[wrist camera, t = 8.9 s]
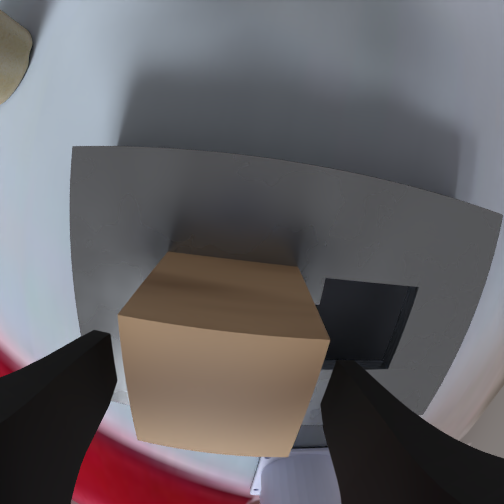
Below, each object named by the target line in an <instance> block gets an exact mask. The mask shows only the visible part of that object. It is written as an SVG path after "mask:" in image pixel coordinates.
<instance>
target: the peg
mask: <svg viewBox="0 0 504 504" xmlns="http://www.w3.org/2000/svg"><path fill="white" fill-rule="evenodd" d="M118 325H119V335H120V344H121V352H122V359H123V366H124V373H125V379H126V385H127V391H128V397H129V402H130V407H131V412H132V417H133V422H134V426H135V431H136V435H137V439H138V440H139V441H144V442H148V443H153V444H158V445H163V446H168V447H174V448H179V449H185V450H192V451H199V452H207V453H216V454H225V455H237V456H254V457H288V456H289V454H290V451H291V449H292V447H293V444H294V442H295V439H296V437H297V434H298V432H299V429H300V427H301V424H302V421H303V419H304V416H305V414H306V411H307V408H308V406H309V403H310V400H311V397H312V394H313V392H314V389H315V386H316V383H317V380H318V377H319V374H320V371H321V368H322V365H323V362H324V359H325V356H326V352H327V349H328V346H329V343H330V338H329V336H328V333H327V331H326V329H325V326H324V324H323V322H322V319H321V317H320V315H319V313H318V310H317V308H316V306H315V304H314V301H313V299H312V297H311V295H310V292H309V290H308V288H307V286H306V283H305V281H304V279H303V277H302V275H301V272H300V270H299V268H298V267H294V266H286V265H277V264H268V263H260V262H251V261H242V260H234V259H226V258H217V257H209V256H201V255H192V254H184V253H176V252H167V253H166V254H165V256H164V257H163V258H162V259H161V260H160V262H159V263H158V264H157V265H156V267H155V268H154V269H153V270H152V271H151V273H150V274H149V275H148V276H147V278H146V279H145V280H144V281H143V283H142V284H141V285H140V286H139V288H138V289H137V290H136V292H135V293H134V294H133V295H132V297H131V298H130V299H129V301H128V302H127V303H126V304H125V306H124V307H123V308H122V310H121V311H120V312H119V314H118Z"/></svg>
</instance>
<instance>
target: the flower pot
mask: <svg viewBox="0 0 504 504" xmlns="http://www.w3.org/2000/svg"><path fill="white" fill-rule="evenodd" d="M31 47H32V38H31V35H30V33H29V31H28V30H27V29H25V28H24V27H22V26H21V25H20V24H18V23H17V22H16V21H14V20H13V19H12V18H10V17H9V16H8V15H7V14H5V13H4V12H3V11H1V10H0V104H2V103H4V102H5V101H6V100H7V99H8V98H9V97H10V96H11V95H12V93H13V92H14V91H15V89H16V88H17V86H18V85H19V83H20V81H21V80H22V78H23V76H24V74H25V72H26V70H27V67H28V64H29V53H30V50H31Z"/></svg>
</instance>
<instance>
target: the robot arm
mask: <svg viewBox="0 0 504 504" xmlns="http://www.w3.org/2000/svg"><path fill="white" fill-rule="evenodd" d="M117 381H118V380H117V374H116V368H115V362H114V355H113V348H112V341H111V333H106V332H102V331H98V330H93V331H91V332H89V333H87V334H85V335H83V336H81V337H79V338H78V339H76V340H74V341H72V342H71V343H69V344H67V345H65V346H64V347H62V348H60V349H58V350H56V351H55V352H53V353H51V354H49V355H48V356H46V357H44V358H42V359H40V360H38V361H36V362H34V363H32V364H30V365H28V366H26V367H24V368H22V369H20V370H17V371H15V372H13V373H10V374H8V375H5V376H3V377H0V504H71V499H72V495H73V491H74V487H75V483H76V480H77V476H78V473H79V470H80V466H81V463H82V461H83V458H84V456H85V454H86V451H87V449H88V447H89V445H90V443H91V441H92V439H93V437H94V435H95V433H96V431H97V429H98V427H99V425H100V423H101V421H102V419H103V417H104V415H105V413H106V411H107V409H108V407H109V404H110V402H111V399H112V396H113V393H114V390H115V387H116V384H117ZM320 406H321V415H322V422H323V430H324V434H325V437H326V441H327V445H328V448H306V449H291V451H290V454H289V456H288V457H260V461H259V464H258V467H257V470H256V473H255V477H254V480H253V483H252V486H251V489H250V494H251V495H260V504H504V458H501V457H497V456H494V455H491V454H488V453H485V452H483V451H480V450H478V449H475V448H473V447H471V446H469V445H466V444H464V443H462V442H460V441H458V440H456V439H454V438H452V437H451V436H449V435H447V434H445V433H444V432H442V431H440V430H439V429H437V428H436V427H434V426H432V425H431V424H429V423H428V422H426V421H425V420H424V419H422V418H421V417H420V416H418V415H417V414H416V413H414V412H413V411H412V410H410V409H409V408H408V407H407V406H405V405H404V404H403V403H402V402H400V401H399V400H398V399H397V398H396V397H395V396H393V395H392V394H391V393H390V392H389V391H388V390H387V389H386V388H384V387H383V386H382V385H381V384H380V383H379V382H378V381H377V380H376V379H375V378H373V377H372V376H371V375H370V374H369V373H368V372H367V371H366V370H365V369H364V368H362V367H361V366H360V365H359V364H358V363H357V362H355V361H354V360H336V363H335V366H334V368H333V371H332V374H331V377H330V380H329V382H328V385H327V388H326V390H325V393H324V396H323V398H322V401H321V403H320Z"/></svg>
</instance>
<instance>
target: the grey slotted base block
mask: <svg viewBox="0 0 504 504" xmlns="http://www.w3.org/2000/svg"><path fill="white" fill-rule="evenodd" d="M502 218H503V215H502V214H499V213H496V212H493V211H491V210H488V209H485V208H482V207H479V206H476V205H473V204H470V203H467V202H464V201H460V200H457V199H454V198H451V197H447V196H444V195H441V194H437V193H434V192H430V191H427V190H423V189H419V188H416V187H412V186H408V185H404V184H400V183H396V182H392V181H388V180H384V179H379V178H375V177H371V176H366V175H362V174H357V173H352V172H347V171H342V170H337V169H332V168H327V167H321V166H316V165H310V164H304V163H298V162H292V161H285V160H279V159H272V158H265V157H257V156H249V155H241V154H232V153H223V152H212V151H201V150H189V149H174V148H156V147H130V146H73V148H72V160H71V178H70V242H71V259H72V272H73V282H74V291H75V299H76V307H77V314H78V320H79V327H80V332H81V336H83V335H85V334H87V333H89V332H91V331H93V330H98V331H102V332H106V333H111V341H112V348H113V355H114V362H115V368H116V374H117V380H118V381H117V384H116V387H115V390H114V393H113V396H112V399H111V401H114V402H118V403H122V404H126V405H130V402H129V397H128V391H127V385H126V379H125V373H124V366H123V359H122V352H121V344H120V335H119V325H118V314H119V312H120V311H121V310H122V308H123V307H124V306H125V304H126V303H127V302H128V301H129V299H130V298H131V297H132V295H133V294H134V293H135V292H136V290H137V289H138V288H139V286H140V285H141V284H142V283H143V281H144V280H145V279H146V278H147V276H148V275H149V274H150V273H151V271H152V270H153V269H154V268H155V267H156V265H157V264H158V263H159V262H160V260H161V259H162V258H163V257H164V256H165V254H166V253H167V252H176V253H184V254H192V255H201V256H209V257H217V258H226V259H234V260H242V261H251V262H260V263H268V264H277V265H286V266H294V267H298V268H299V270H300V272H301V275H302V277H303V279H304V281H305V283H306V286H307V288H308V290H309V292H310V295H311V297H312V299H313V301H314V304H315V305H320V300H321V296H322V292H323V288H324V283H325V279H326V278H331V279H341V280H351V281H361V282H371V283H381V284H392V285H403V286H409V288H408V292H407V295H406V298H405V301H404V304H403V307H402V310H401V313H400V316H399V319H398V321H397V324H396V327H395V330H394V332H393V335H392V338H391V340H390V343H389V345H388V348H387V350H386V353H385V355H384V358H383V360H354V361H355V362H357V363H358V364H359V365H360V366H361V367H362V368H364V369H365V370H366V371H367V372H368V373H369V374H370V375H371V376H372V377H373V378H375V379H376V380H377V381H378V382H379V383H380V384H381V385H382V386H383V387H384V388H386V389H387V390H388V391H389V392H390V393H391V394H392V395H393V396H395V397H396V398H397V399H398V400H399V401H400V402H402V403H403V404H404V405H405V406H407V407H408V408H409V409H410V410H412V411H413V412H414V413H416V414H417V415H423V414H424V412H425V411H426V409H427V407H428V406H429V404H430V402H431V401H432V399H433V397H434V396H435V394H436V392H437V391H438V389H439V387H440V385H441V383H442V382H443V380H444V378H445V376H446V374H447V372H448V370H449V368H450V367H451V365H452V363H453V361H454V359H455V357H456V354H457V352H458V350H459V348H460V346H461V344H462V342H463V339H464V337H465V335H466V333H467V330H468V328H469V326H470V323H471V321H472V318H473V316H474V313H475V311H476V308H477V305H478V303H479V300H480V297H481V294H482V291H483V288H484V285H485V282H486V279H487V276H488V273H489V270H490V266H491V263H492V259H493V256H494V252H495V248H496V244H497V240H498V236H499V232H500V227H501V223H502ZM335 363H336V360H324V362H323V365H322V368H321V371H320V374H319V377H318V380H317V383H316V386H315V389H314V392H313V394H312V397H311V400H310V403H309V406H308V408H307V411H306V414H305V416H304V419H303V421H302V424H301V425H323V422H322V415H321V406H320V403H321V401H322V398H323V396H324V393H325V390H326V388H327V385H328V382H329V380H330V377H331V374H332V371H333V368H334V366H335Z"/></svg>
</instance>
